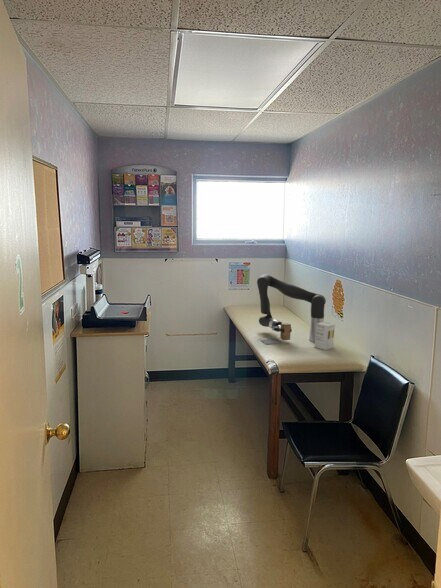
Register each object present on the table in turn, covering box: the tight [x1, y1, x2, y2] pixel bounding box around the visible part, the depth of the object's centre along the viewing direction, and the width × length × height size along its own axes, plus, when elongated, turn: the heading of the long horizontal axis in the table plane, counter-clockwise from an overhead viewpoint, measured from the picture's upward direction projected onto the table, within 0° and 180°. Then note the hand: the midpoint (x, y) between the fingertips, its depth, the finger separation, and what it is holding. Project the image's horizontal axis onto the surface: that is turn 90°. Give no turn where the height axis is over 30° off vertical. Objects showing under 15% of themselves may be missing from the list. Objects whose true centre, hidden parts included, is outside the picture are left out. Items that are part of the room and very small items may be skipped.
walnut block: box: [279, 322, 292, 341], centre depth 305 cm, size 5×5×11 cm
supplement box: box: [314, 321, 336, 351], centre depth 297 cm, size 10×9×17 cm
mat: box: [260, 338, 280, 345], centre depth 306 cm, size 10×10×1 cm
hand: (287, 330), depth 302 cm, fingers closed on walnut block, 5 cm apart
